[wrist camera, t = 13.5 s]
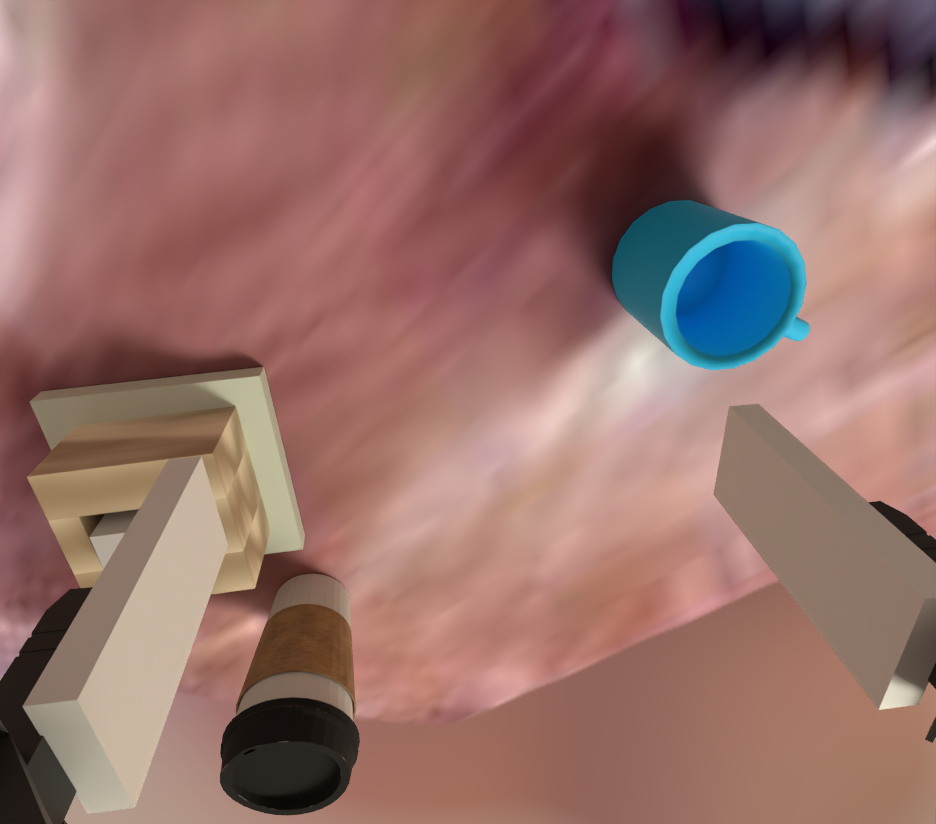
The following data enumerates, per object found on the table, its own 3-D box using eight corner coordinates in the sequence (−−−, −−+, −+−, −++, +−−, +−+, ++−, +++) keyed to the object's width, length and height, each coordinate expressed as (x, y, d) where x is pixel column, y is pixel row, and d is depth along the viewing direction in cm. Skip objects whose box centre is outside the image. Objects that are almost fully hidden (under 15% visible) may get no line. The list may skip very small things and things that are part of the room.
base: (41, 391, 39) (-41, 460, 32) (263, 366, 40) (235, 428, 33) (114, 561, 46) (61, 652, 38) (305, 536, 47) (289, 620, 39)
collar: (270, 529, 44) (255, 588, 39) (127, 549, 44) (92, 611, 38) (235, 406, 40) (212, 453, 35) (75, 425, 39) (26, 476, 34)
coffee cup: (330, 544, 47) (308, 717, 34) (384, 613, 51) (383, 793, 38) (236, 588, 48) (179, 774, 35) (297, 653, 52) (266, 843, 39)
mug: (588, 296, 41) (632, 339, 34) (654, 177, 38) (717, 195, 31) (729, 360, 44) (796, 411, 37) (799, 255, 41) (887, 288, 34)
